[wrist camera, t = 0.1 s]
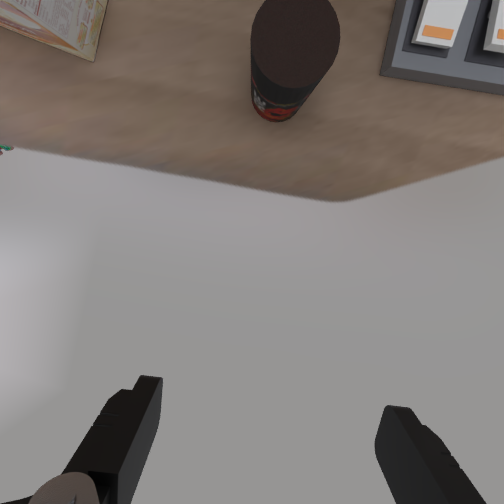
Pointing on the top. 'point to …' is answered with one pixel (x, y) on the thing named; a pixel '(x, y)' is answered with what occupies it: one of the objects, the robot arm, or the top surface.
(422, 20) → the rocker
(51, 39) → the coffeecake box
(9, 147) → the anatomy model
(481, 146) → the top surface
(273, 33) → the deodorant
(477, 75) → the rocker switch panel
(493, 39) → the rocker
